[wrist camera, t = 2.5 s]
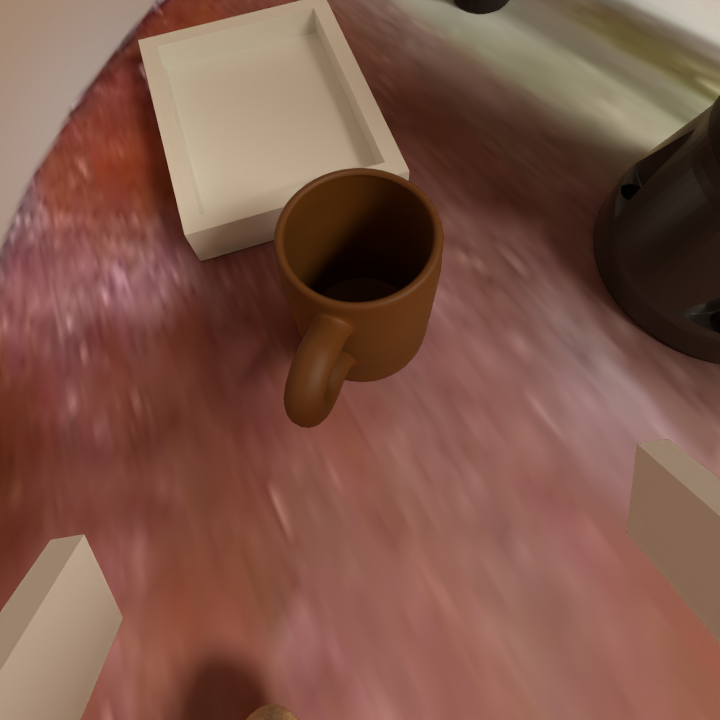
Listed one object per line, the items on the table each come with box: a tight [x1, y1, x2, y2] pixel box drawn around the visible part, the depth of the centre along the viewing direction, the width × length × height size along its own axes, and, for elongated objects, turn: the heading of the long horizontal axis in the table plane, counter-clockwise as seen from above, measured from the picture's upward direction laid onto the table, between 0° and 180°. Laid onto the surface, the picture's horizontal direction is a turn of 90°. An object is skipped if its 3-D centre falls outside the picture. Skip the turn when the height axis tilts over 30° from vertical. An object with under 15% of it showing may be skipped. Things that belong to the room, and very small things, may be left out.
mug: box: [274, 168, 443, 428], centre depth 24 cm, size 12×8×9 cm, turn 162°
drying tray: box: [138, 0, 409, 261], centre depth 34 cm, size 14×18×3 cm
